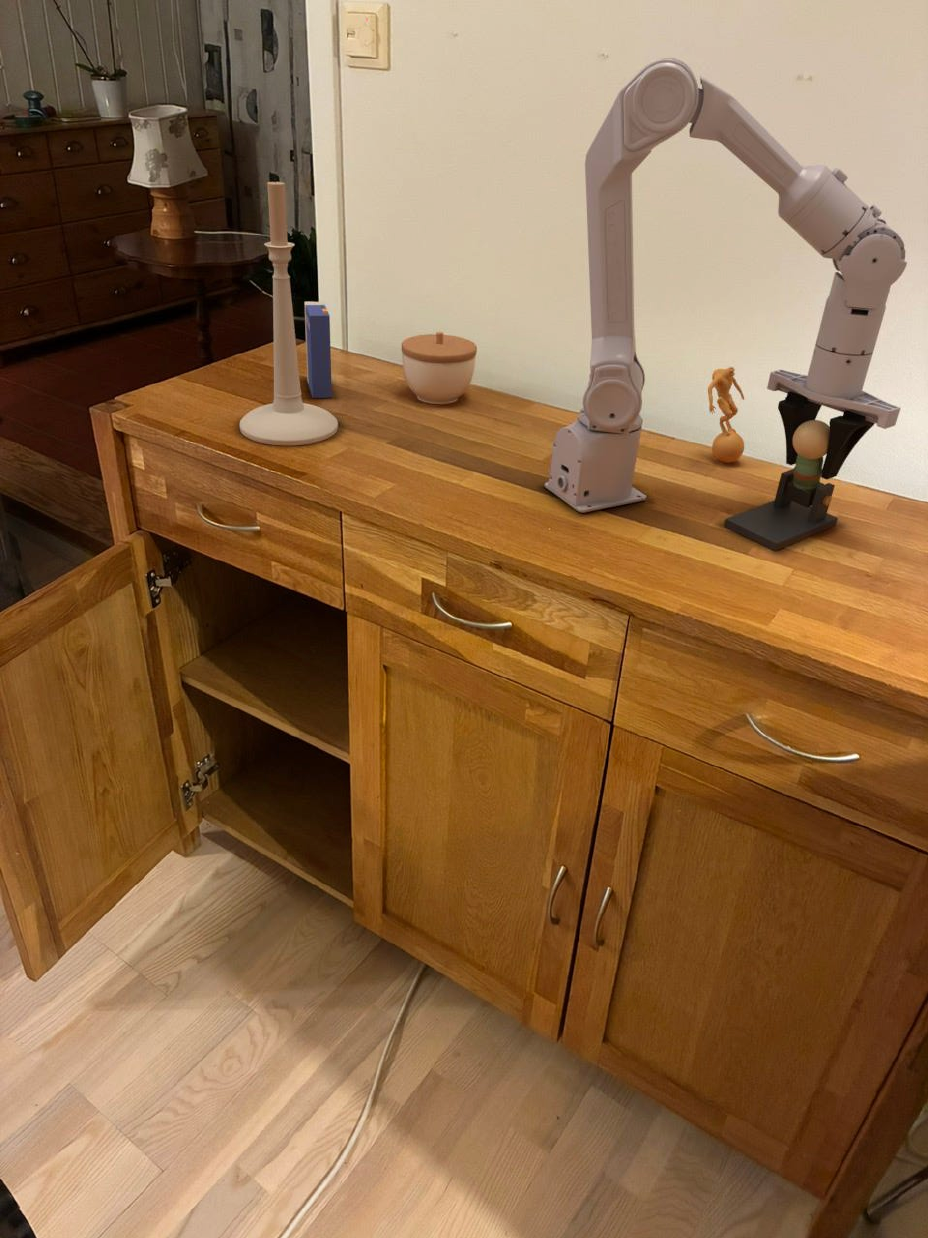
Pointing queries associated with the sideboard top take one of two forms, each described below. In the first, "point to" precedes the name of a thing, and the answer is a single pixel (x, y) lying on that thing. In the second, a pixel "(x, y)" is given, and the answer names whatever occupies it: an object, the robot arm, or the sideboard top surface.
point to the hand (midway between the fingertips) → (811, 469)
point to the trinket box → (438, 366)
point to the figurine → (728, 442)
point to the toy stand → (785, 517)
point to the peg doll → (808, 461)
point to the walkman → (318, 349)
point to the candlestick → (285, 354)
